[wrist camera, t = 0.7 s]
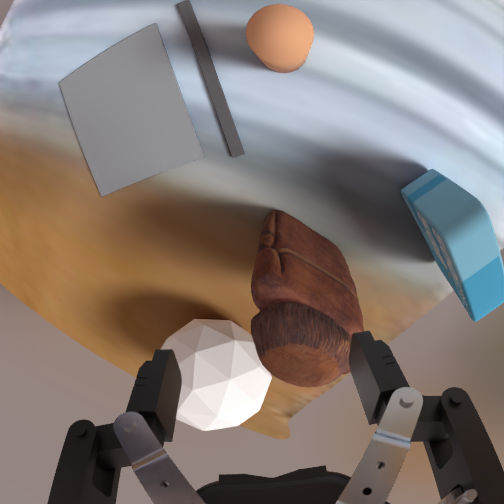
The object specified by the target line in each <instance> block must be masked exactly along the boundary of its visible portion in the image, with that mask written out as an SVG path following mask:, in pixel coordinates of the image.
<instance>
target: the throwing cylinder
mask: <svg viewBox="0 0 504 504" xmlns="http://www.w3.org/2000/svg"><path fill="white" fill-rule="evenodd" d="M313 38H314V31H313V27H312V24H311V22H310V20H309V19H308V17H307V16H306V15H305V14H304V13H303V12H301V11H300V10H298V9H296V8H294V7H292V6H288V5H283V4H276V5H270V6H266V7H264V8H262V9H260V10H258V11H257V12H256V13H255V14H254V15H253V16H252V17H251V18H250V20H249V22H248V24H247V27H246V39H247V42H248V44H249V46H250V48H251V49H252V50H253V52H254V53H255V54H256V55H257V56H258V57H259V58H260V60H261V61H262V62H263V63H264V64H265V65H266V66H267V67H268V68H269V69H271V70H273V71H275V72H279V73H289V72H293V71H295V70H297V69H299V68H300V67H301V66H302V65H303V64H304V62H305V61H306V58H307V56H308V53H309V50H310V48H311V45H312V42H313Z"/></svg>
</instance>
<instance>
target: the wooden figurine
mask: <svg viewBox="0 0 504 504" xmlns="http://www.w3.org/2000/svg"><path fill="white" fill-rule="evenodd" d="M251 293H252V297H253V301H254V302H255V305H256V306H257V307H258V308H259V310H260V312H259V313H258V314H257V315H256V316H254V317H253V318H252V320H251V335H252V338H253V342H254V344H255V348H256V352H257V355H258V357H259V360H260V361H261V363H262V365H263V366H264V368H265V369H266V370H267V371H269V372H270V373H271V374H272V375H273V376H275V377H277V378H278V379H280V380H282V381H284V382H287V383H290V384H293V385H296V386H301V387H318V386H322V385H325V384H328V383H330V382H332V381H334V380H335V379H337V378H338V377H339V376H340V375H341V374H347V373H349V372H351V371H350V367H349V353H350V346H351V339H352V334H353V333H358V332H364V327H363V318H362V312H361V309H360V306H359V301H358V297H357V293H356V287H355V284H354V281H353V279H352V277H351V275H350V272H349V268H348V265H347V263H346V261H345V258H344V256H343V255H342V253H341V251H340V250H339V249H338V247H337V246H336V245H334V244H333V243H332V242H330V241H329V240H327V239H326V238H324V237H323V236H321V235H319V234H318V233H316V232H315V231H313V230H312V229H310V228H309V227H307V226H306V225H304V224H303V223H302V222H300V221H299V220H297V219H296V218H294V217H292V216H290V215H288V214H287V213H285V212H282V211H271V212H270V213H269V214H268V215H267V216H266V219H265V222H264V225H263V229H262V233H261V237H260V242H259V247H258V252H257V258H256V262H255V267H254V271H253V275H252V281H251Z"/></svg>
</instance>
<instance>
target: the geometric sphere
mask: <svg viewBox="0 0 504 504" xmlns="http://www.w3.org/2000/svg"><path fill="white" fill-rule="evenodd" d="M161 349H172V350H173V351H174V354H175V357H176V360H177V362H178V365H179V368H180V371H181V376H182V386H181V391H180V397H179V403H178V409H177V415H176V419H177V420H180V421H182V422H184V423H186V424H189V425H191V426H193V427H196V428H198V429H200V430H203V431H208V430H215V429H221V428H228V427H233V426H238V425H240V424H241V423H242V422H244V421H245V420H247V419H248V418H249V417H251V416H252V415H254V414H255V413H256V412H258V411H259V410H260V408H261V405H262V403H263V400H264V398H265V395H266V392H267V390H268V387H269V384H270V382H271V379H272V377H271V374H270V372H269V371H267V370H266V369H265V368H264V366H263V365H262V363H261V361H260V360H259V357H258V355H257V352H256V348H255V344H254V342H253V338H252V335H251V334H250V333H248V332H247V331H246V330H244V329H243V328H241V327H240V326H238V325H237V324H235V323H234V322H232V321H231V320H209V319H194V320H192V321H191V322H189V323H188V324H186V325H185V326H184V327H182V328H181V329H179V330H178V331H177V332H175V333H174V334H172V335H171V336H170V337H168V338H167V339H166V341H165V343H164V344H163V346H162V347H161Z"/></svg>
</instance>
